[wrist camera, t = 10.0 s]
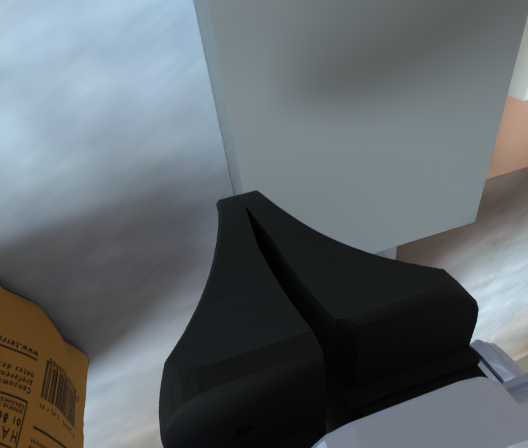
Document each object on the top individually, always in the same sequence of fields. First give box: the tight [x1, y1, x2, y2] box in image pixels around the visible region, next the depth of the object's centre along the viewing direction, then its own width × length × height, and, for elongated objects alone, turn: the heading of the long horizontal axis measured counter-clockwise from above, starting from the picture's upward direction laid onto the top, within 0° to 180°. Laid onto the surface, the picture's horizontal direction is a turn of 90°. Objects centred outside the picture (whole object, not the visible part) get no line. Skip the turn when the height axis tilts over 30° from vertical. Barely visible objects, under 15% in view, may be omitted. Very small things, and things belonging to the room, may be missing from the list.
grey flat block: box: [194, 0, 528, 254], centre depth 18 cm, size 22×14×4 cm, turn 8°
